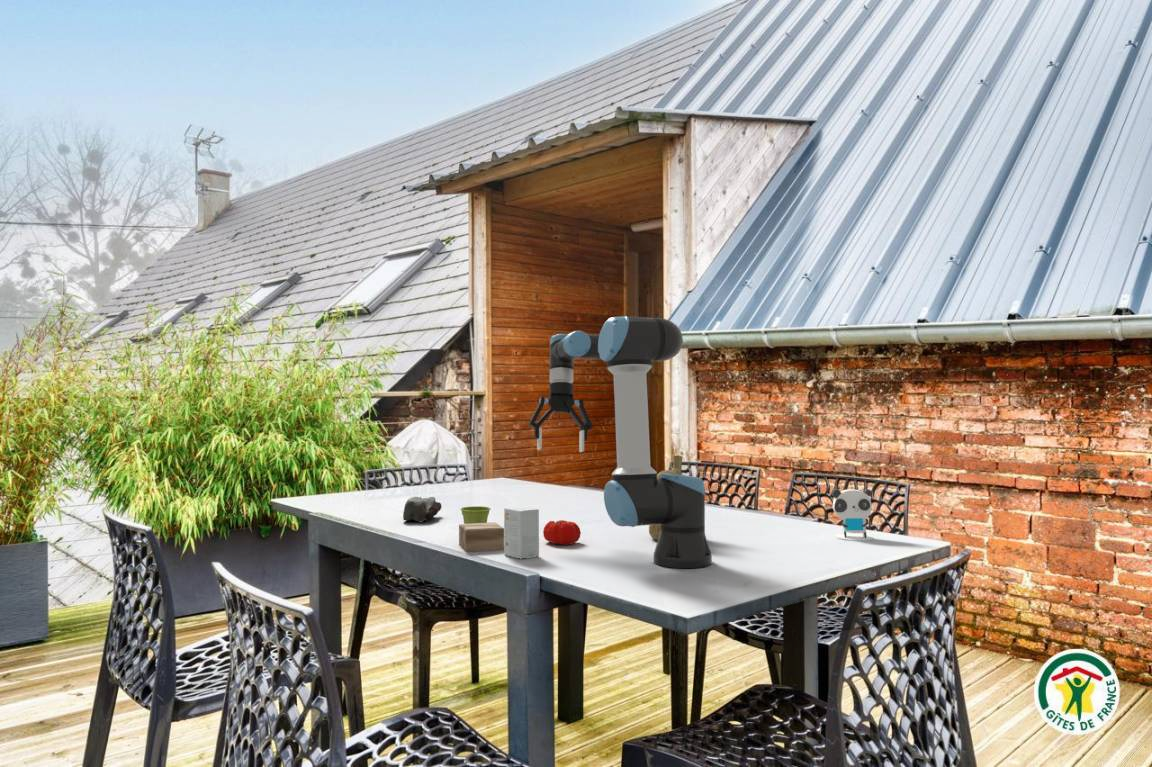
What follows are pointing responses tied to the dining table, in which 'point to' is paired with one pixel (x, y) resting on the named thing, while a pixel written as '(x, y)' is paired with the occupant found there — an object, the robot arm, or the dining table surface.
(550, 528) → the tomato
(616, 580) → the dining table surface
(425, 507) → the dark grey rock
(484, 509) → the plant pot
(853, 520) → the panda figurine
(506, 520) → the small box
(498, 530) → the walnut block
